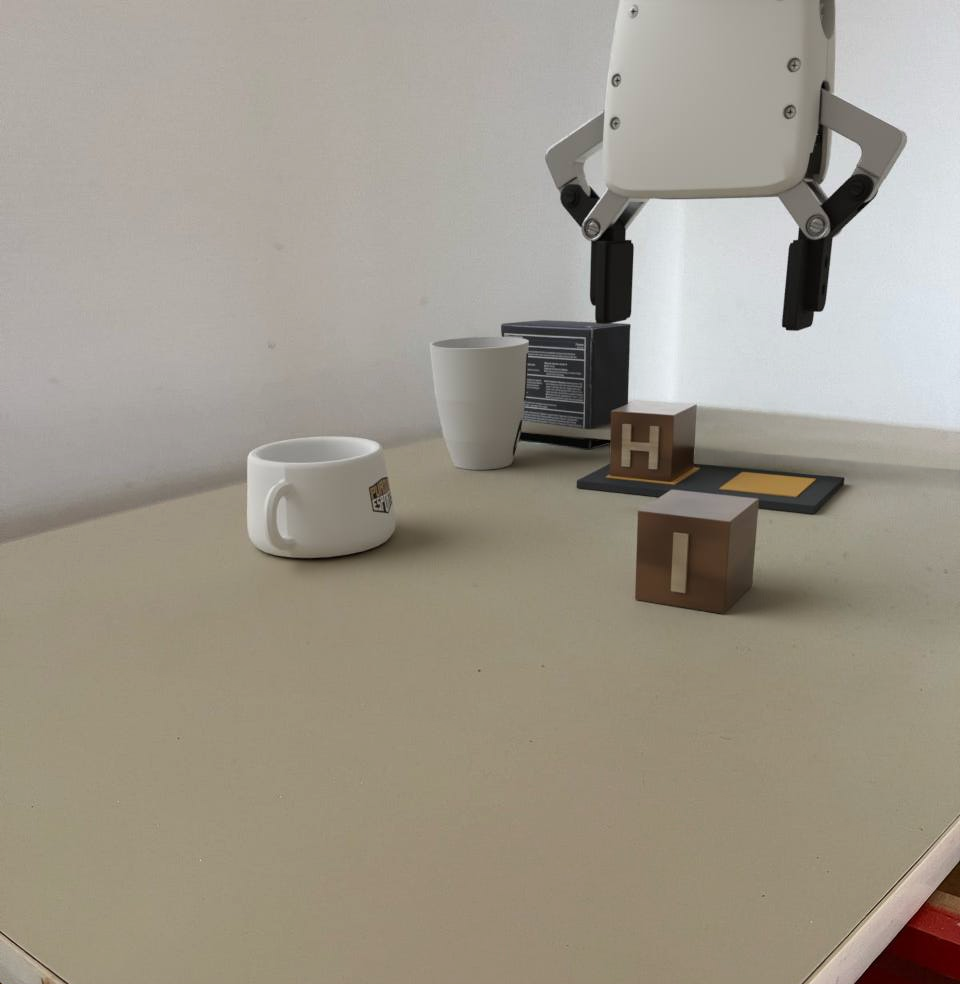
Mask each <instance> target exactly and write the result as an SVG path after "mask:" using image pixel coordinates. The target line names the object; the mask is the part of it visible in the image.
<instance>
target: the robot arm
mask: <svg viewBox="0 0 960 984" xmlns="http://www.w3.org/2000/svg"><path fill="white" fill-rule="evenodd" d="M617 6H618V7H617V12H616V16H615V17H616V18H615V24H614V28H613V29H614V30H613V36H612V42H611V49H610V58H609V65H608V73H607V80H606V81H607V82H606V90H605V91H606V93H605V104H604V109H603V110H601V111H600V112H598V113H597V114H595V115H594V116H593V117H591V118H590V119H588V120H587V121H585V122H584V123H583V124H581V125H579V126H578V127H577V128H575V129H574V130H572V131H571V132H569V133H568V134H567V135H565V136H564V137H562V138H561V139H559V140H558V141H557V142H555V143H553V144H552V145H551V146H549V147H548V148H547V150H546V151H545V155H544V160H545V164H546V165H547V168H548V170H549V173H550V175H551V177H552V180H553V182H554V185H555V187H556V189H557V190H558V192H559V195H560V196H559V199H560V203H561V205H562V207H563V208H564V209H565V210H566V211H567V213H568V214H569V215H570V217H571V218H572V219H573V220H574V221H575V223H577V225H578V226H579V227H580V228H581V234H582V236H583V237H584V239H585V240H586V241H589V242H590V267H589V268H590V271H589V272H590V273H589V275H590V277H589V300H590V304H591V305H592V306H594V307H595V308H594V310H595V311H594V319H595V322H596V323H597V324H609V323H618V322H619V323H620V322H623V321H624V322H625V321H626V320H628V319H630V317H631V315H632V307H633V306H632V305H633V303H632V302H633V279H634V277H633V276H634V252H635V251H634V250H635V249H634V248H635V247H634V242H632V239H626V236H627V235H626V233H627V232H626V231H627V230H628V228H629V227H630V226H631V225H632V223H633V222H634V220H635V219H636V218H637V216H638V215H639V214H640V213H641V211H642V210H643V209H644V207H645V206H646V204H647V203H648V202H649V201H650V200H652V199H653V200H654V199H655V200H657V199H658V200H715V199H716V200H718V199H719V200H721V199H753V198H755V199H756V198H778V199H779V200H780V202H781V204H782V205H783V206H784V207H785V209H786V211H788V213H789V215H790V216H791V218H792V219H793V220H794V222H795V223H796V225H797V226H798V235H797V239H793V240H792V242H790V243H789V245H788V252H787V262H786V263H787V264H786V274H785V285H784V294H783V295H784V296H783V306H782V307H783V308H782V318H781V327H782V328H785V330H786V331H788V332H790V331H791V332H792V331H793V332H798V331H801V330H804V329H808V328H810V327H812V326H813V322H814V316H815V313H820V312H823V311H824V309H825V306H826V302H827V296H828V295H827V294H828V286H829V277H830V267H831V258H832V247H833V240H834V238H836V237H838V236H839V235H840V234H841V232H842V230H843V229H844V228H845V227H846V226H847V225H848V224H849V223H850V222H852V220H853V219H854V218H856V217H857V216H858V214H860V213H861V212H862V211H863V210H864V209H865V208H866V207H867V206H868V205H869V204H871V202H872V201H873V200H874V199H875V198H876V197H877V195H878V193H879V189H880V188H881V186H882V184H883V183H884V181H885V180H886V179H887V177H888V175H889V174H890V172H891V171H892V169H893V167H894V166H895V164H896V162H897V161H898V159H899V157H900V155H901V154H902V152H903V151H904V149H905V147H906V145H907V143H908V136H907V134H906V132H905V131H904V130H903V129H901V128H899V127H897V126H895V125H893V124H892V123H890V122H888V121H886V120H884V119H883V118H881V117H879V116H877V115H875V114H873V113H871V112H869V111H867V110H865V109H863V108H861V107H859V106H857V105H855V104H854V103H852V102H850V101H848V100H847V99H844V98H842V97H841V96H839V95H837V94H835V79H836V48H837V47H836V46H837V45H836V42H837V41H836V40H837V36H836V34H837V33H836V32H837V27H836V25H837V23H836V19H837V15H836V0H619V1H618V5H617ZM833 132H835V133H836V134H838V135H841V136H842V137H845V139H848V140H850V141H851V142H854V143H855V144H857V145H858V146H859V148H860V151H861V156H860V158H859V160H858V162H857V164H856V167H855V168H854V170H853V172H852V173H851V175H850V176H849V177H848V178H847V179H846V180H845V181H844V182H843V183H842V184H841V185H840V186H839V187H838V188H837V189H836V190H835V191H834V192H833V193H832V194H831V195H830V196H829V197H828V195H827V194H826V192H825V190H824V189H823V188H822V186H821V185H822V183H824V181H825V179H826V178H827V174H828V171H829V167H830V161H831V153H832V143H833ZM601 150H602V174H603V180H604V184H605V186H606V187H607V188H606V189H605V191H604V192H603V194H602V195H601V196H599V195H598V193H597V192H596V191H595V190H594V189H593V187H592V186H590V185H589V183H588V181H587V175H586V173H585V170H584V166H585V163H586V161H587V160H588V159H589V158H591V157H592V156H593V155H595V154H597V153H598V152H601Z"/></svg>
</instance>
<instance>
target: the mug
mask: <svg viewBox="0 0 960 984" xmlns="http://www.w3.org/2000/svg"><path fill="white" fill-rule="evenodd" d="M246 462H247V463H246V466H247V467H246V469H247V471H246V476H247V477H246V481H247V484H246V487H247V488H246V489H247V492H246V493H247V497H246V508H247V509H246V521H247V522H246V525H247V533H248V537H249V540H250V541H251V543H252V544H253V545H254V546H255V547H256V548H257V549H259V550H260V551H262V552H264V553H267V554H270V555H273V556H279V557H286V558H298V559H315V558H316V559H317V558H318V559H319V558H332V557H340V556H347V555H351V554H356V553H360V552H366V551H368V550H370V549H374V548H377V547H379V546H381V545H382V544H384V543H386V542H387V541H388V540H389V539H390V538H391V536H392V535H393V533H394V532H395V530H396V514H395V513H396V512H395V507H394V500H393V495H392V491H391V485H390V480H389V473H388V468H387V463H386V457H385V451H384V447H383V445H381V444H380V443H378V442H377V441H375V440H371V439H368V438H362V437H354V436H331V435H329V436H327V435H325V436H310V437H309V436H308V437H299V438H291V439H285V440H279V441H274V442H270V443H266V444H263V445H260V446H258V447H256V448H254V449H252V450H251V451H249V454H248V455H247V457H246Z"/></svg>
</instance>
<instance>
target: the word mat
mask: <svg viewBox="0 0 960 984" xmlns="http://www.w3.org/2000/svg"><path fill="white" fill-rule="evenodd" d="M844 485H845V477H843V476H835V475H834V476H833V475H832V476H831V475H824V474H823V475H822V474H810V473H800V472H789V471H780V470H779V471H778V470H767V469H758V468H745V467H736V466H735V467H734V466H725V465H724V466H723V465H714V464H704V463H703V464H702V463H694V467H693V469H691V470H690V471H688V472H686V473H685V474H683V475H681V476H680V477H678V478H677V479H675V480H673V481H672V482H665V481H655V480H646V479H636V478H626V477H616V476H610V463H608V464H606V465H604V466H602V467H600V468H598V469H596V470H594V471H593V472H591V473H589V474H587V475H585V476H583V477H581V478H579V479H577V480H576V489H583V490H592V491H600V492H601V491H602V492H610V493H620V494H627V495H637V496H638V495H639V496H647V497H654V498H655V497H657V498H659V497H661V496H662V495H664V494H666V493H667V492H669V491H670V490H681V491H690V492H700V493H709V494H718V495H728V496H737V497H746V498H756V499H759V504H758V509H764V510H773V511H782V512H792V513H798V514H809V515H815V514H816V513H817V512H818V511H819V510H820V509H821V508H822V507H823V506H824V505H825V504H826V503H827V502H828V501H829V500H830V499H831V498H832V497H833V496H834V495H835V494H836V493H837V492H838V491H839V490H840V489H841V488H842V487H843V486H844Z"/></svg>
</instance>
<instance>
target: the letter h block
mask: <svg viewBox="0 0 960 984" xmlns="http://www.w3.org/2000/svg"><path fill="white" fill-rule="evenodd" d="M697 407H698V405H697V403H684V402H683V403H682V402H668V401H667V402H666V401H652V400H639V399H637V400H634V401H632V402H628V404H627V405H624V406H622V407H620V408H617V409H615V410H612V411H611V424H610V439H609V440H610V443H609V446H610V448H609V450H610V451H609V464H610V476H616V477H626V478H636V479H646V480H655V481H665V482H672V481H673V480H675V479H677V478H678V477H680V476H681V475H683V474H685V473H686V472H688V471H690V470H691V469H693V467H694V464H695V448H696V447H695V446H696V444H695V443H696V427H697V411H698V410H697Z"/></svg>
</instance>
